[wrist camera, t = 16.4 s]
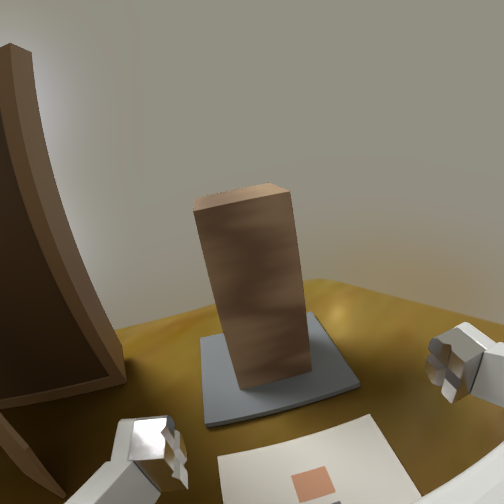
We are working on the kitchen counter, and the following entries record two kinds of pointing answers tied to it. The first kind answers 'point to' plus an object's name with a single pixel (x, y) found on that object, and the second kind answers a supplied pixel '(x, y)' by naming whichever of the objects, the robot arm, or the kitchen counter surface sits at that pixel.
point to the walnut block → (256, 281)
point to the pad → (275, 393)
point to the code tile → (319, 470)
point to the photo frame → (41, 277)
